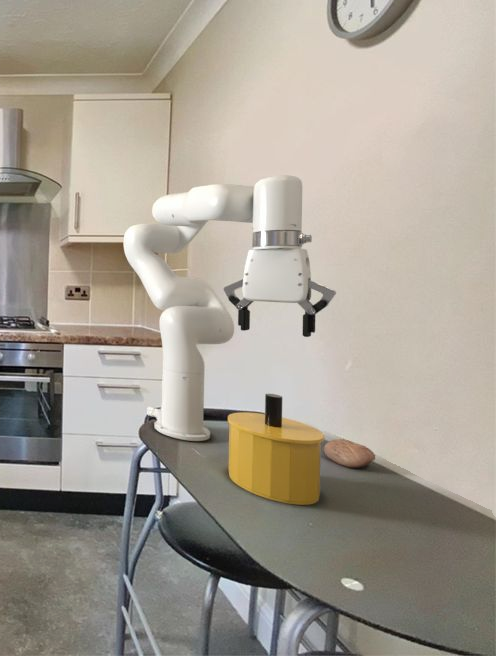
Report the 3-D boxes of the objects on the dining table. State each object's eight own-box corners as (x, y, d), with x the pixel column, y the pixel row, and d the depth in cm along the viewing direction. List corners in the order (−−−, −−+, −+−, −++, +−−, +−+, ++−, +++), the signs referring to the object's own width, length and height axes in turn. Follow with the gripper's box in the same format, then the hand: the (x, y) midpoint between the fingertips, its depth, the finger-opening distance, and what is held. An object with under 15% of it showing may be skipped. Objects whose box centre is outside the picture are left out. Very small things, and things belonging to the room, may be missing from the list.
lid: (216, 428, 75) (217, 392, 76) (241, 413, 85) (241, 381, 85) (315, 455, 64) (316, 413, 65) (331, 434, 74) (331, 398, 74)
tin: (218, 481, 75) (219, 425, 76) (241, 461, 84) (242, 411, 85) (310, 514, 65) (311, 449, 65) (325, 488, 74) (326, 431, 74)
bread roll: (334, 450, 92) (312, 445, 89) (353, 432, 90) (331, 425, 87) (367, 480, 85) (344, 475, 83) (389, 460, 83) (366, 454, 80)
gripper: (339, 242, 72) (338, 337, 71) (231, 246, 85) (229, 327, 84) (332, 238, 67) (331, 340, 66) (218, 243, 80) (217, 328, 79)
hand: (274, 333), depth 75 cm, fingers open, 9 cm apart
